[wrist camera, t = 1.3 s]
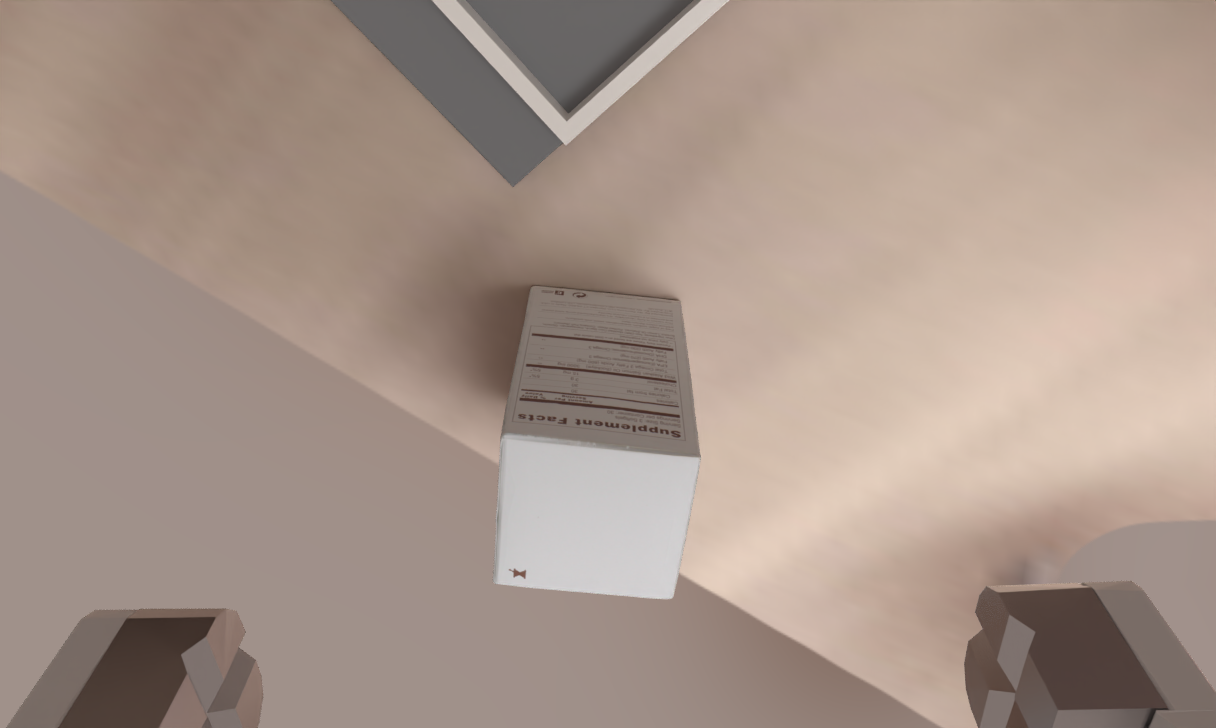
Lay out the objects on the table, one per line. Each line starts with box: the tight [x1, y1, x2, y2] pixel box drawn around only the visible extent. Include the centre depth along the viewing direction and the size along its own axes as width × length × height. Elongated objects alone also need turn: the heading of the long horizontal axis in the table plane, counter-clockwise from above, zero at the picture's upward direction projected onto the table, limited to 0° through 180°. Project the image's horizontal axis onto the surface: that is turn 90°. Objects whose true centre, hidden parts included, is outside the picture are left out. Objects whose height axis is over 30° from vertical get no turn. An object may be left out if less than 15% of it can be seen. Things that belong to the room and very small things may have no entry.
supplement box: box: [493, 286, 701, 599], centre depth 38 cm, size 7×7×13 cm
